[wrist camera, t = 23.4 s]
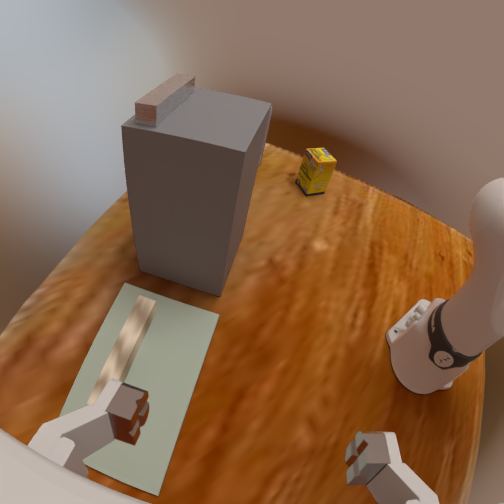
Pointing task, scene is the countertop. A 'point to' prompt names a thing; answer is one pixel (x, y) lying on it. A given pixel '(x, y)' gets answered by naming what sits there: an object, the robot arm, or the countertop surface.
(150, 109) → the pale wood bar
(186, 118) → the charcoal stand
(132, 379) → the sage mat
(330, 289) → the countertop surface
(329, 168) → the supplement box
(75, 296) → the countertop surface
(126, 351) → the long maple bar
